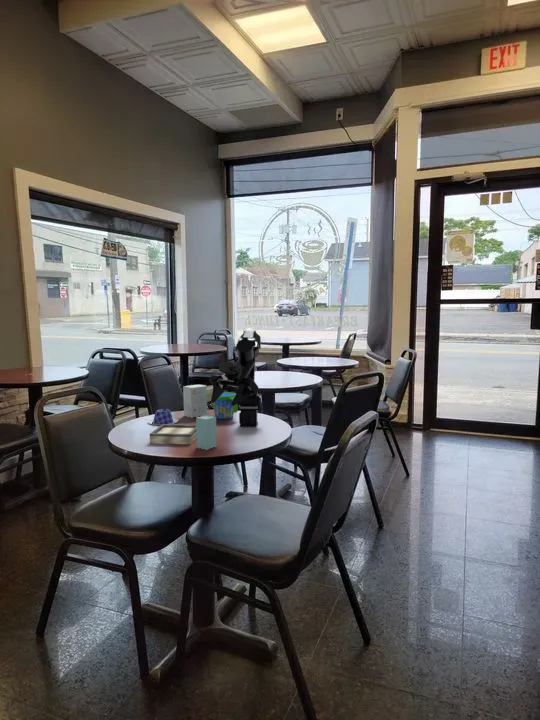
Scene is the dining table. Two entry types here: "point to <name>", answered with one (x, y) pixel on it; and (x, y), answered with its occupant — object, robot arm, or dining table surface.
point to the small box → (195, 400)
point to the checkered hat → (163, 417)
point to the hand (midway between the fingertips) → (221, 403)
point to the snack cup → (224, 406)
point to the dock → (173, 434)
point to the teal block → (206, 432)
